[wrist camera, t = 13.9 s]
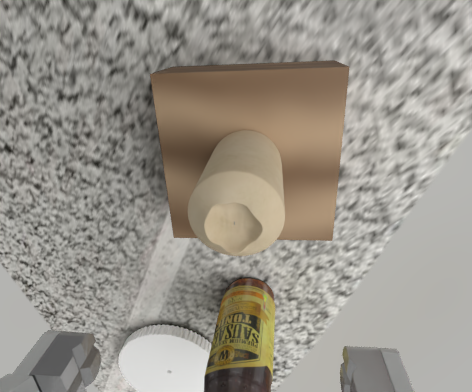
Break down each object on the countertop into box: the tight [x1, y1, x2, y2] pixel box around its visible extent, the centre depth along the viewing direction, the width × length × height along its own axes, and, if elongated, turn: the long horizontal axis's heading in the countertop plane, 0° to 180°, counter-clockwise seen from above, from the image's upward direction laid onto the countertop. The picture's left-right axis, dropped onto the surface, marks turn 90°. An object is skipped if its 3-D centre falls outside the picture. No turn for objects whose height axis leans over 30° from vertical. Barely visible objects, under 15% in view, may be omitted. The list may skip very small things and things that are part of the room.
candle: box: [188, 130, 285, 256], centre depth 22 cm, size 6×6×10 cm
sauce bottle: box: [204, 278, 275, 392], centre depth 31 cm, size 7×6×20 cm
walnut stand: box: [150, 61, 349, 241], centre depth 29 cm, size 14×14×6 cm
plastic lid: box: [118, 324, 212, 392], centre depth 45 cm, size 14×14×2 cm
